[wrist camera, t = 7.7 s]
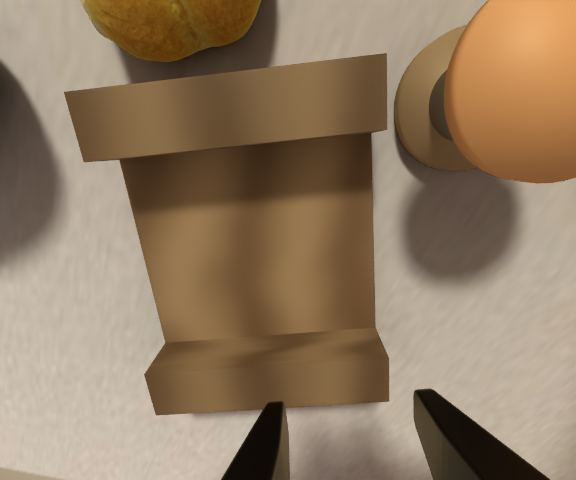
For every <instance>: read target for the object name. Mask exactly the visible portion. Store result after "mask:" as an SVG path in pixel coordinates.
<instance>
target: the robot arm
mask: <svg viewBox="0 0 576 480" xmlns="http://www.w3.org/2000/svg"><path fill="white" fill-rule="evenodd" d="M414 422H415V426H416V429H417V432H418V435H419V438H420V441H421V444H422V447H423V450H424V453H425V456H426V459H427V462H428V465H429V468H430V471H431V474H432V477H433V480H550V479H549V478H547V477H546V476H545V475H544V474H542V473H541V472H540V471H538V470H537V469H536V468H534V467H533V466H532V465H531V464H529V463H528V462H527V461H525V460H524V459H523V458H521V457H520V456H519V455H518V454H516V453H515V452H514V451H512V450H511V449H510V448H508V447H507V446H506V445H505V444H503V443H502V442H501V441H499V440H498V439H497V438H495V437H494V436H493V435H492V434H490V433H489V432H488V431H486V430H485V429H484V428H482V427H481V426H480V425H479V424H477V423H476V422H475V421H473V420H472V419H471V418H469V417H468V416H467V415H466V414H464V413H463V412H462V411H460V410H459V409H458V408H456V407H455V406H454V405H453V404H451V403H450V402H449V401H447V400H446V399H445V398H443V397H442V396H441V395H440V394H438V393H437V392H436V391H434V390H432V389H418V390H415V391H414ZM221 480H290V466H289V432H288V423H287V416H286V410H285V404H284V402H283V401H273V402H268V403H267V404H266V406H265V407H264V409H263V411H262V412H261V414H260V416H259V417H258V419H257V421H256V422H255V424H254V426H253V427H252V429H251V431H250V432H249V434H248V436H247V437H246V439H245V441H244V442H243V444H242V446H241V447H240V449H239V451H238V452H237V454H236V455H235V457H234V459H233V460H232V462H231V464H230V465H229V467H228V469H227V470H226V472H225V474H224V475H223V477H222V479H221Z"/></svg>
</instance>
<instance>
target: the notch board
mask: <svg viewBox="0 0 576 480" xmlns="http://www.w3.org/2000/svg"><path fill="white" fill-rule="evenodd" d="M64 94H65V97H66V101H67V104H68V108H69V111H70V115H71V119H72V122H73V126H74V129H75V133H76V136H77V140H78V143H79V147H80V150H81V154H82V157H83V161H84V162H93V161H108V160H120V164H121V168H122V172H123V176H124V180H125V184H126V188H127V191H128V195H129V199H130V203H131V207H132V211H133V215H134V219H135V223H136V227H137V231H138V235H139V239H140V243H141V247H142V251H143V255H144V259H145V263H146V267H147V271H148V275H149V279H150V283H151V287H152V291H153V295H154V299H155V303H156V307H157V311H158V315H159V319H160V323H161V327H162V331H163V335H164V339H165V344H164V346H163V347H162V349H161V350H160V352H159V353H158V355H157V356H156V358H155V359H154V361H153V362H152V364H151V365H150V367H149V368H148V370H147V371H146V373H145V374H144V375H145V379H146V382H147V386H148V389H149V393H150V396H151V400H152V403H153V407H154V410H155V414H156V415H170V414H186V413H203V412H220V411H237V410H253V409H264V407H265V406H266V404H267V403H268V402H273V401H283V402H284V404H285V408H287V407H304V406H321V405H337V404H354V403H371V402H388V401H389V357H388V355H387V353H386V350H385V348H384V346H383V344H382V341H381V339H380V337H379V335H378V332H377V330H376V328H375V284H374V238H373V192H372V145H371V133H373V132H378V131H383V130H387V53H384V54H376V55H368V56H359V57H351V58H343V59H334V60H326V61H318V62H309V63H301V64H293V65H285V66H276V67H268V68H260V69H251V70H243V71H235V72H226V73H218V74H210V75H202V76H193V77H185V78H177V79H168V80H160V81H152V82H143V83H135V84H127V85H119V86H110V87H102V88H94V89H85V90H77V91H69V92H64Z"/></svg>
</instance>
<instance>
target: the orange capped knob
mask: <svg viewBox="0 0 576 480" xmlns="http://www.w3.org/2000/svg"><path fill="white" fill-rule="evenodd" d="M394 121H395V126H396V130H397V133H398V136H399V138H400V140H401V142H402V144H403V146H404V147H405V149H406V150H407V151H408V152H409V153H410V154H411V155H412V156H413V157H414V158H415V159H417V160H418V161H419V162H421V163H423V164H425V165H427V166H430V167H433V168H437V169H442V170H449V171H466V170H472V169H475V168H479V169H481V170H482V171H484V172H486V173H488V174H491V175H493V176H496V177H500V178H504V179H508V180H515V181H522V182H530V183H553V182H559V181H565V180H568V179H572V178H576V0H488V1H487V2H486V3H485V4H484V5H483V6H482V7H481V8H480V9H479V10H478V11H477V13H476V14H475V15H474V17H473V18H472V19H471V21H470V22H469V23H468V25H466V26H462V27H459V28H456V29H453V30H451V31H449V32H447V33H445V34H444V35H442V36H441V37H439V38H438V39H436V40H435V41H433V42H432V43H431V44H430V45H428V46H427V47H426V48H425V49H423V50H422V51H421V52H420V53H419V54H418V55H417V56H416V57H415V58H414V59H413V61H412V62H411V63H410V65H409V66H408V67H407V69H406V71H405V73H404V74H403V76H402V78H401V81H400V83H399V86H398V89H397V92H396V97H395V102H394Z"/></svg>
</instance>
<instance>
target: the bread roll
mask: <svg viewBox="0 0 576 480" xmlns="http://www.w3.org/2000/svg"><path fill="white" fill-rule="evenodd" d="M81 2H82V4H83V7H84V9H85V11H86V12H87V14H88V16H89V18H90V19H91V21H92V23H93V25H94V26H95V28H96V29H97V31H98V32H99V33H100V34H102V35H103V36H104V37H106V38H108V39H110V40H112V41H114V42H115V43H116V44H117V45H118V46H119V47H120V48H122V49H123V50H125V51H126V52H128V53H130V54H131V55H133V56H135V57H137V58H139V59H142V60H148V61H159V62H171V61H177V60H180V59H183V58H185V57H187V56H190V55H192V54H194V53H196V52H197V51H200V50H204V49H207V48H209V47H220V46H224V45H228V44H230V43H232V42H235V41H236V40H238V39H240V38H241V37H243V36H244V35H245V34H246V32H247V31H248V30H249V28H250V27H251V25H252V23H253V21H254V19H255V17H256V14H257V12H258V9H259V6H260V3H261V0H81Z"/></svg>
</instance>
